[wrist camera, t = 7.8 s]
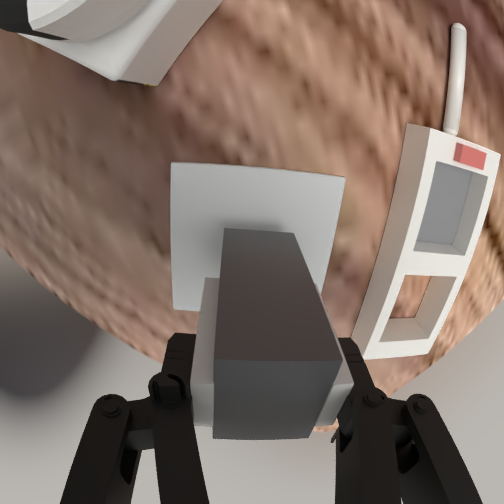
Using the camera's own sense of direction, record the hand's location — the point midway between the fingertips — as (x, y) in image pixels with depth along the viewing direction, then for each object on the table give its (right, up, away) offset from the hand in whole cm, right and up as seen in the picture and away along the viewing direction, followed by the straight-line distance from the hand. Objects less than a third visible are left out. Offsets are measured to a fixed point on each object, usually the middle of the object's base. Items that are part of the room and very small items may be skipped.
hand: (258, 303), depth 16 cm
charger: (0, +2, +3) cm, 4 cm away
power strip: (+13, +7, +4) cm, 16 cm away
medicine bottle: (-7, +17, -1) cm, 18 cm away
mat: (0, +3, +6) cm, 6 cm away
